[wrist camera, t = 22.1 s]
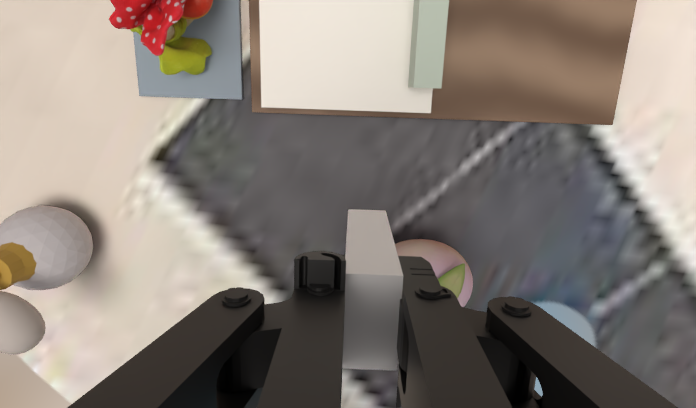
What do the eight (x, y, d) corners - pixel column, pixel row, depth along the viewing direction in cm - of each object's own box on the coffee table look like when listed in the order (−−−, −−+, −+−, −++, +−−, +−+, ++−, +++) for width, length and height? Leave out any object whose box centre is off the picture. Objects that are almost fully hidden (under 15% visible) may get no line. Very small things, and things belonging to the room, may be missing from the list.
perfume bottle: (54, 181, 40) (-70, 220, 29) (141, 244, 42) (57, 305, 30) (17, 238, 42) (-114, 297, 31) (102, 297, 43) (8, 374, 32)
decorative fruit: (394, 204, 40) (403, 243, 30) (471, 243, 41) (504, 292, 31) (348, 287, 42) (344, 347, 33) (422, 321, 43) (439, 390, 33)
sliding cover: (429, 112, 36) (438, 116, 32) (263, 106, 37) (248, 109, 32) (444, -78, 32) (458, -104, 28) (259, -82, 33) (242, -109, 28)
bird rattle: (184, -27, 37) (117, 54, 35) (153, -136, 26) (55, -25, 24) (246, 18, 38) (184, 100, 36) (242, -69, 27) (152, 42, 25)
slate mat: (243, 99, 38) (241, 99, 37) (141, 95, 38) (139, 96, 38) (237, -69, 34) (236, -71, 34) (126, -72, 34) (123, -74, 34)
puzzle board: (605, 123, 37) (612, 125, 36) (254, 111, 38) (251, 112, 37) (643, -74, 33) (651, -79, 32) (250, -83, 34) (246, -88, 33)
